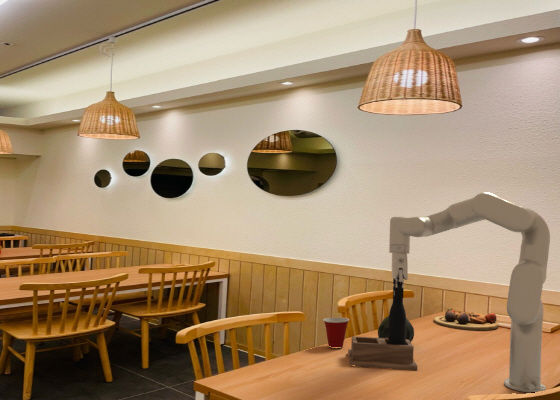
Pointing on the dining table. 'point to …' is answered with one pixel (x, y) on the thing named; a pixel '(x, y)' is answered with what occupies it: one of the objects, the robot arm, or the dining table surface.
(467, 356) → the dining table surface
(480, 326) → the wooden plate with food
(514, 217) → the robot arm
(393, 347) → the bottle rack
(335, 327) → the plastic cup
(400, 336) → the wine bottle
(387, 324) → the squash
